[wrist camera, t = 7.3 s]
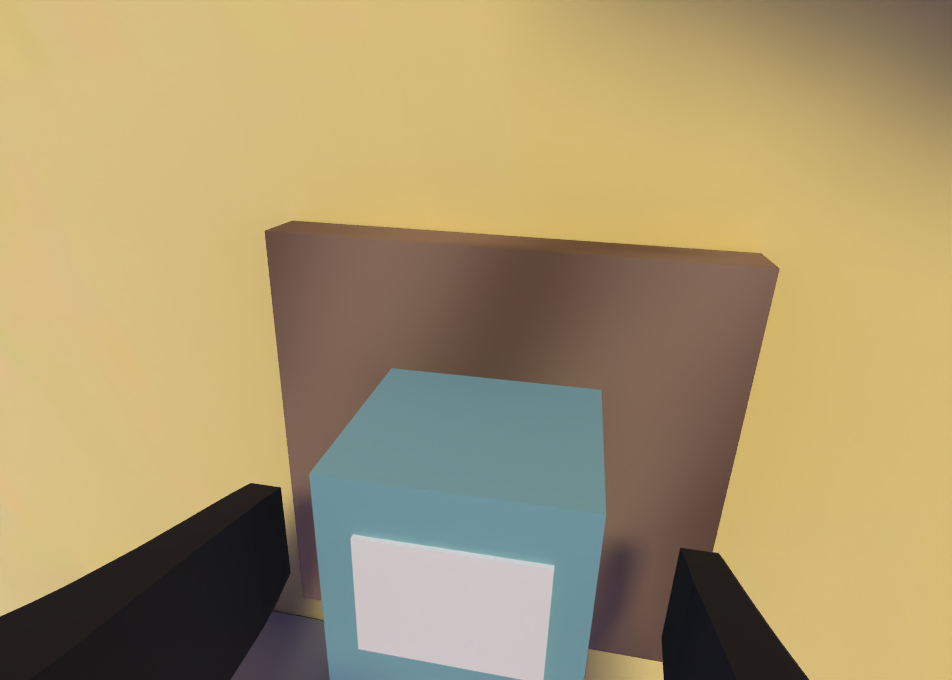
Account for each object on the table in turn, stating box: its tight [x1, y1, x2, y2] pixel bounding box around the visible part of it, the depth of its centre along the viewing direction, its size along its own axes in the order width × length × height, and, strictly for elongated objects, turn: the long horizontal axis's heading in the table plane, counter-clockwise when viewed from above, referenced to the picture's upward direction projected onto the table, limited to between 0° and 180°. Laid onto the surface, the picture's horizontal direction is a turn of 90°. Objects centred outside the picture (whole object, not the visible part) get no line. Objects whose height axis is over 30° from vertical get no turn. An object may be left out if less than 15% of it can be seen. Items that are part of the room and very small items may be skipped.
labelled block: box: [309, 368, 606, 680], centre depth 11 cm, size 4×4×4 cm
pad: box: [265, 221, 779, 662], centre depth 13 cm, size 10×10×1 cm
